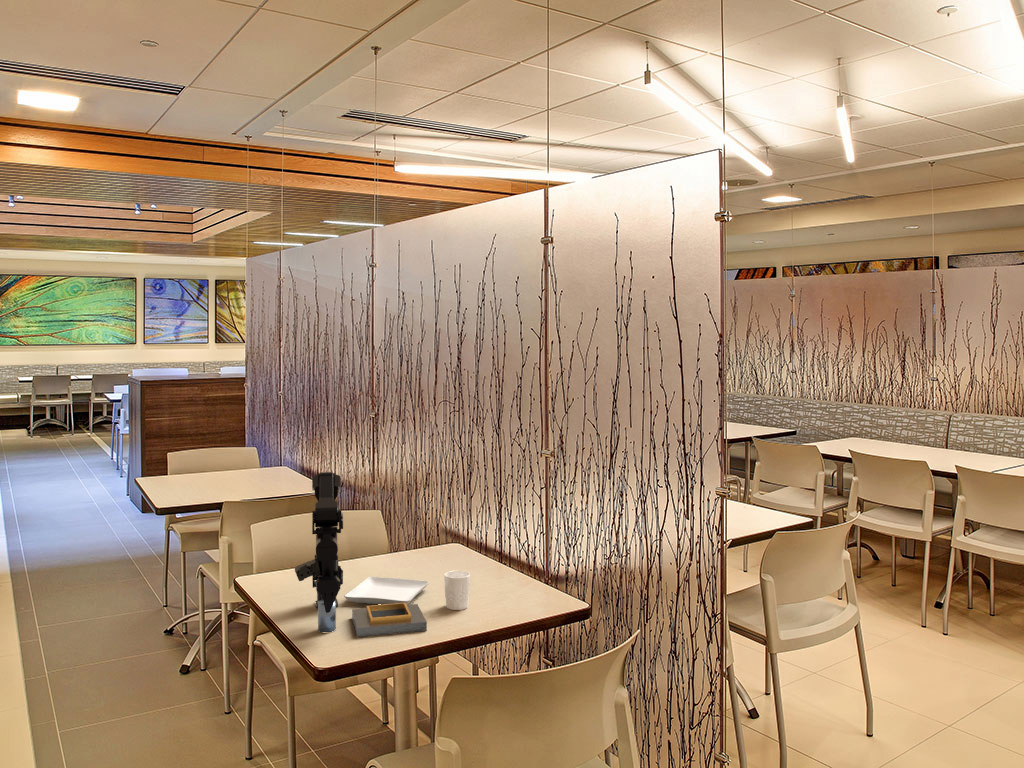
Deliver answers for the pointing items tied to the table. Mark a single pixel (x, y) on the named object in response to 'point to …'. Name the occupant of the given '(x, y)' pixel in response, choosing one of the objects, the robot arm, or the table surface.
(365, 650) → the table surface
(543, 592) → the table surface
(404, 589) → the salad plate
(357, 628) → the grey and gold frame
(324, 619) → the can
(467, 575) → the white cup
